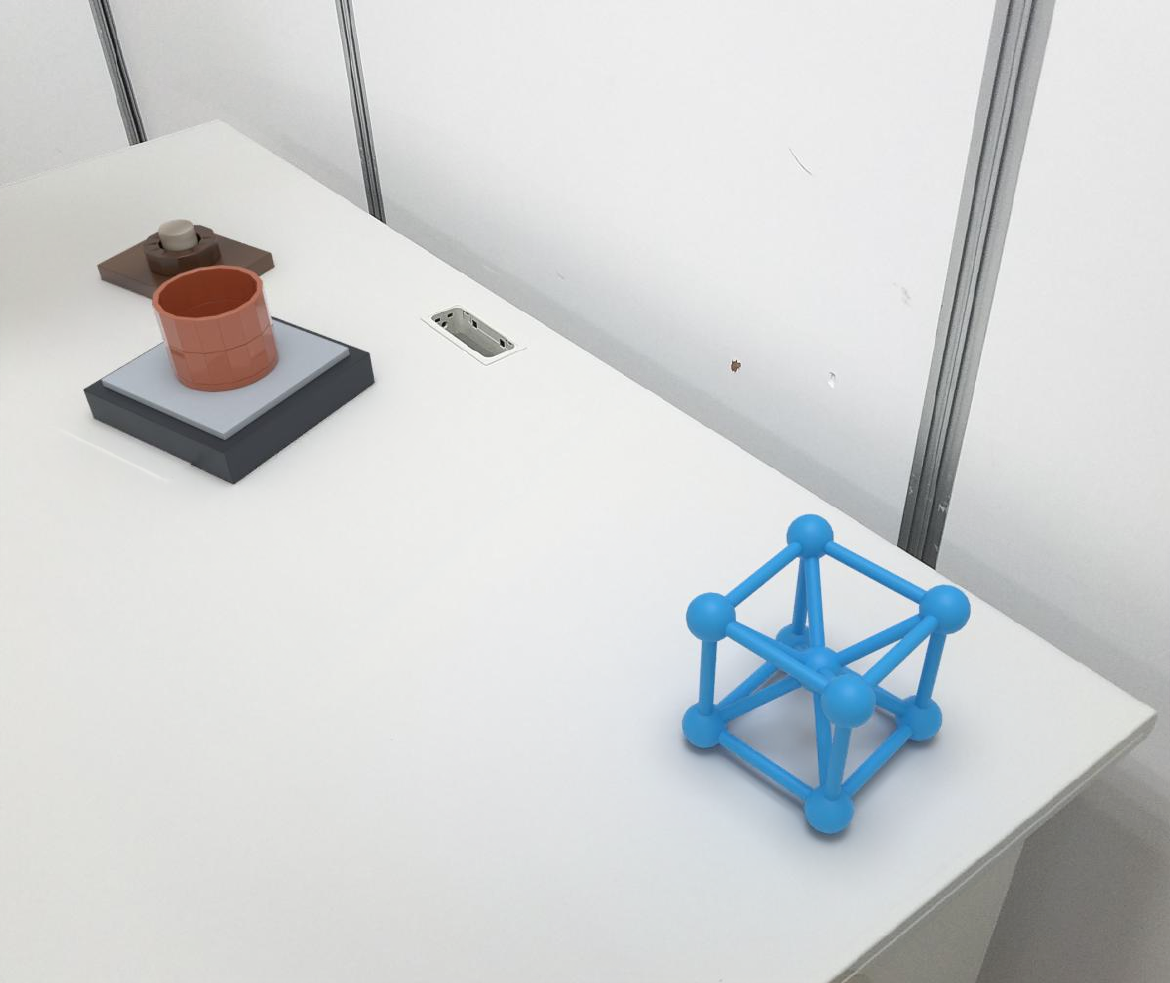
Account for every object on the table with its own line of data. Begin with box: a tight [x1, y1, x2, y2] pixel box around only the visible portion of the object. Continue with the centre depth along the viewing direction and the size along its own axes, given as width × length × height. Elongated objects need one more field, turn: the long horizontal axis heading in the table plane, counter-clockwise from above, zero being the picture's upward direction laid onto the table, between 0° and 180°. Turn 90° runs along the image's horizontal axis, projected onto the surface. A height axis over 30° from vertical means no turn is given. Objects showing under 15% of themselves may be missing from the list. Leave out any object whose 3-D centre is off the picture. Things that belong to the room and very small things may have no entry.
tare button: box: [157, 219, 198, 251], centre depth 97 cm, size 3×3×2 cm
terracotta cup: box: [151, 265, 279, 392], centre depth 82 cm, size 7×7×6 cm
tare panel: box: [96, 224, 275, 300], centre depth 99 cm, size 11×9×3 cm
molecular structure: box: [681, 513, 972, 834], centre depth 58 cm, size 10×10×10 cm
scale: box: [82, 315, 376, 484], centre depth 85 cm, size 15×14×3 cm
